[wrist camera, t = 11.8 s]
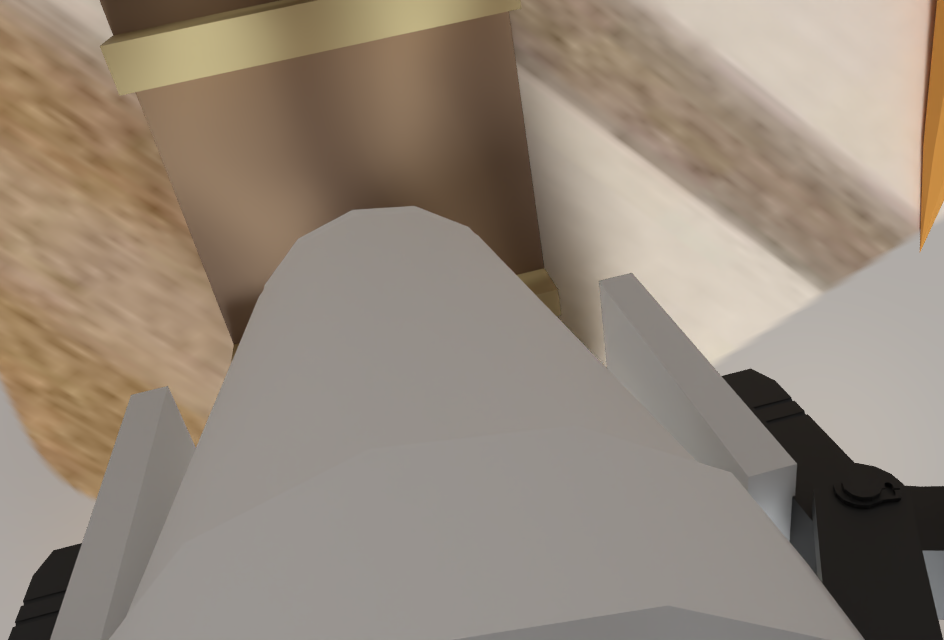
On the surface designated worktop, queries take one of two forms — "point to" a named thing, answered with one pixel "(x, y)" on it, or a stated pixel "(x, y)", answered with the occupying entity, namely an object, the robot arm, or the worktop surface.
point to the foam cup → (450, 474)
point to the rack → (329, 124)
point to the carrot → (934, 133)
